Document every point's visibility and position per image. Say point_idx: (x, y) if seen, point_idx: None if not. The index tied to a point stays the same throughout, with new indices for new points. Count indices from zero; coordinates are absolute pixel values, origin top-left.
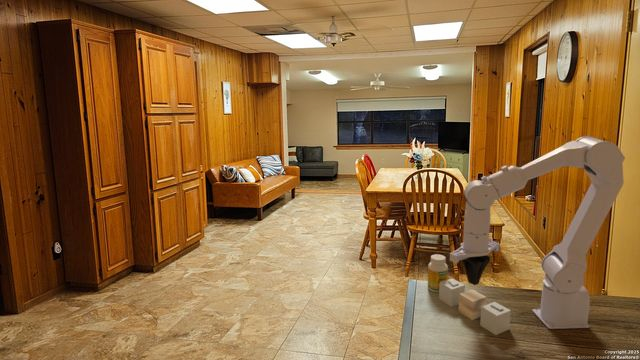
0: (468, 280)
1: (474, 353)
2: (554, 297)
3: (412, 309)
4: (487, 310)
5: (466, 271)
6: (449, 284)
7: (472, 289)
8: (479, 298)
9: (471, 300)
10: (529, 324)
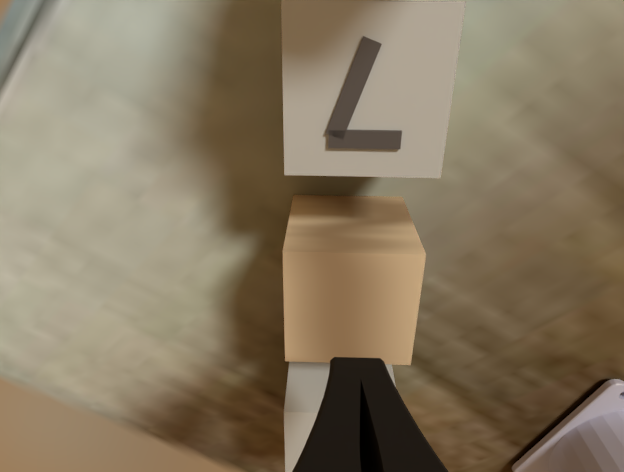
0: (330, 371)
1: (128, 423)
2: None
3: (28, 17)
4: (285, 441)
5: (309, 441)
6: (333, 93)
7: (424, 258)
8: (353, 356)
9: (286, 348)
10: (485, 418)
